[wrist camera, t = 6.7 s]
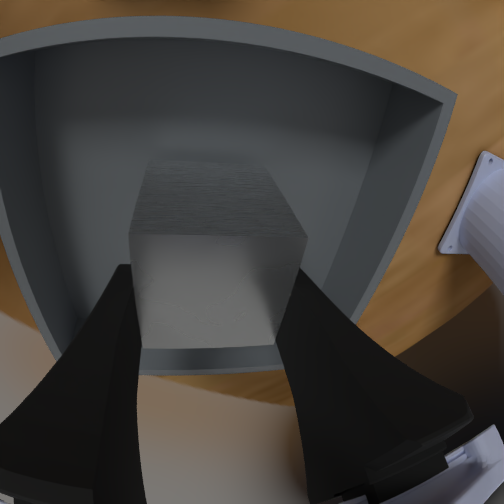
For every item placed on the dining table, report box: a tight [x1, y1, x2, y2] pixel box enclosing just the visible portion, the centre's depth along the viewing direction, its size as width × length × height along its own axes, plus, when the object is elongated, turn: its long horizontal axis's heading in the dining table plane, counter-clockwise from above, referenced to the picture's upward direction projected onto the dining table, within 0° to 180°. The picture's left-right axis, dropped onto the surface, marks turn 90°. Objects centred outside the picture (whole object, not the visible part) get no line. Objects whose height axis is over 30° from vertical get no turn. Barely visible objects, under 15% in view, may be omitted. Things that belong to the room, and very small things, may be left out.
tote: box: [0, 16, 458, 375], centre depth 13 cm, size 16×16×4 cm
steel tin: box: [128, 160, 309, 349], centre depth 11 cm, size 4×4×5 cm
